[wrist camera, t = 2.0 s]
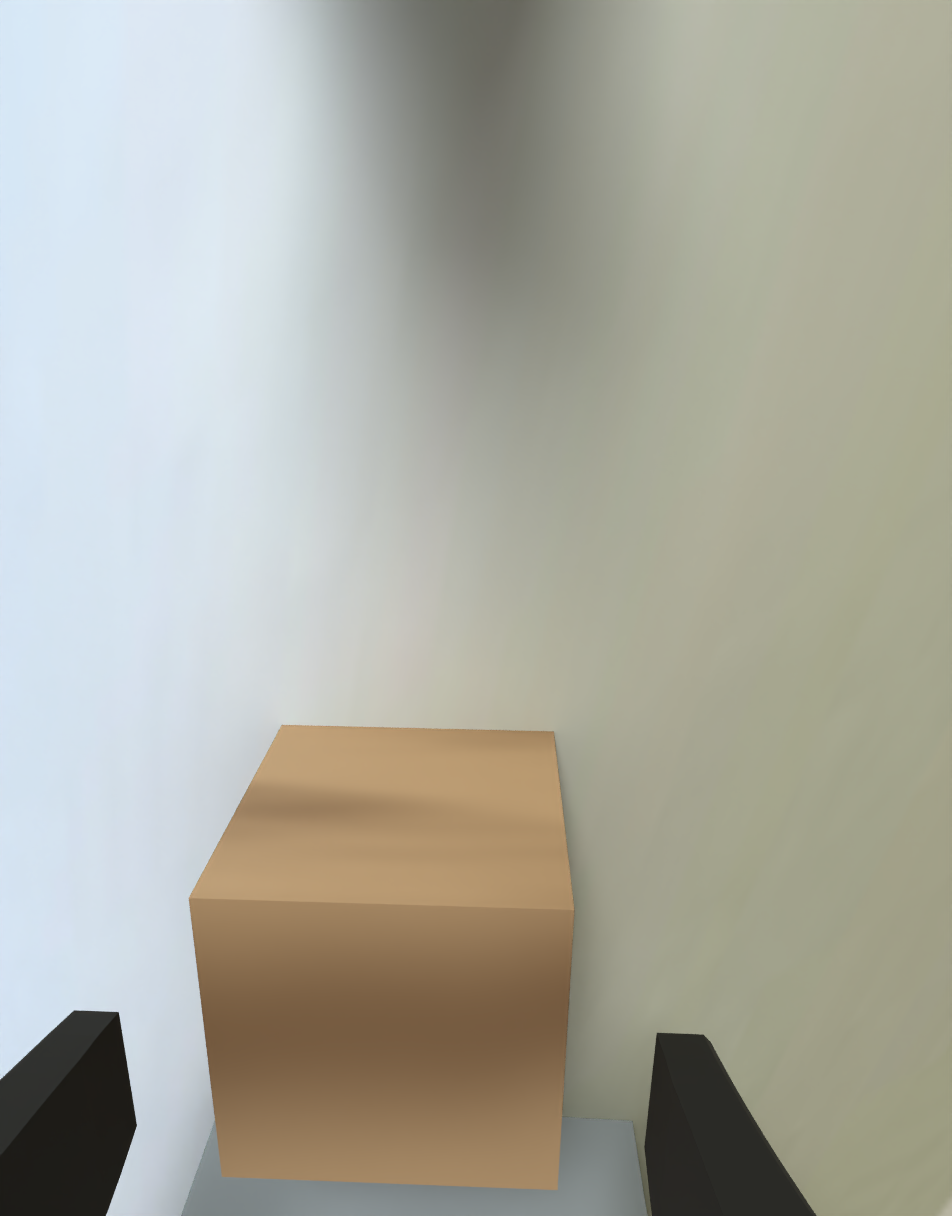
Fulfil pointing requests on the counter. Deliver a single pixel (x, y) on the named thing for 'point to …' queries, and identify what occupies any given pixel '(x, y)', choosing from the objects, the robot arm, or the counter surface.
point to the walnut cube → (390, 960)
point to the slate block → (380, 1212)
